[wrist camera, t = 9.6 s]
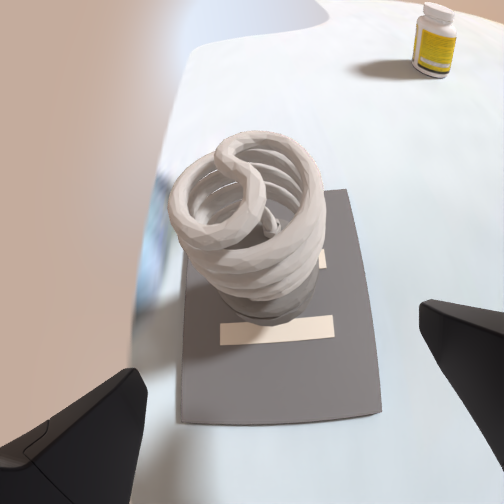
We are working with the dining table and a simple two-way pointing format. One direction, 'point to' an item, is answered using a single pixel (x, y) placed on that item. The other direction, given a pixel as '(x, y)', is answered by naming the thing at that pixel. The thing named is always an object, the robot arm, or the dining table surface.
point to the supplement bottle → (434, 40)
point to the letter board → (286, 343)
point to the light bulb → (253, 224)
